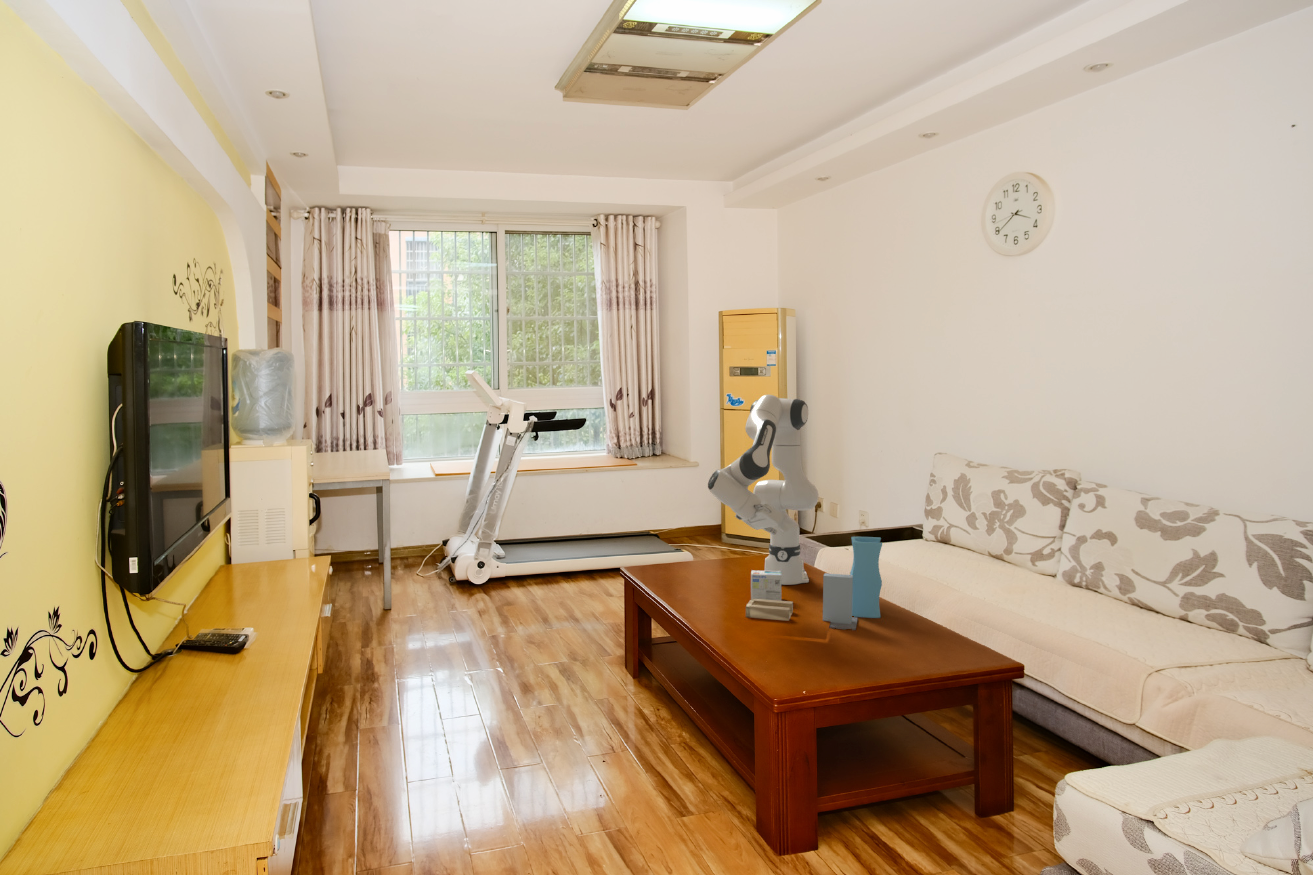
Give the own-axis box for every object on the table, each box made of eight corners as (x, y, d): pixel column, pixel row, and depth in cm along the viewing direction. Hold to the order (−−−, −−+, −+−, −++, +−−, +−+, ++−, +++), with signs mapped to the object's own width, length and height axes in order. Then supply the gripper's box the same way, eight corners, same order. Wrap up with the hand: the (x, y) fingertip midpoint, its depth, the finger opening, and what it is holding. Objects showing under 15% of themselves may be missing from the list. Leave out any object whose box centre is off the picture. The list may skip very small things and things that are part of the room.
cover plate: (823, 618, 274) (824, 573, 273) (852, 620, 272) (852, 575, 271) (822, 621, 271) (823, 575, 270) (851, 624, 268) (852, 577, 267)
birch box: (751, 611, 284) (751, 598, 284) (792, 614, 280) (792, 601, 280) (745, 619, 275) (745, 606, 274) (788, 623, 271) (788, 609, 271)
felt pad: (820, 616, 279) (820, 614, 279) (857, 619, 276) (857, 617, 275) (816, 626, 267) (816, 625, 267) (855, 630, 264) (855, 628, 264)
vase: (880, 618, 277) (882, 543, 275) (850, 616, 279) (851, 542, 277) (879, 609, 286) (880, 537, 284) (849, 608, 288) (851, 536, 286)
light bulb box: (780, 600, 299) (781, 570, 298) (781, 605, 292) (782, 574, 291) (750, 599, 300) (750, 569, 299) (750, 604, 293) (751, 574, 292)
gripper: (766, 495, 273) (799, 521, 274) (743, 503, 292) (773, 527, 293) (756, 511, 271) (789, 537, 272) (733, 517, 290) (764, 541, 291)
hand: (781, 532), depth 283 cm, fingers open, 8 cm apart
